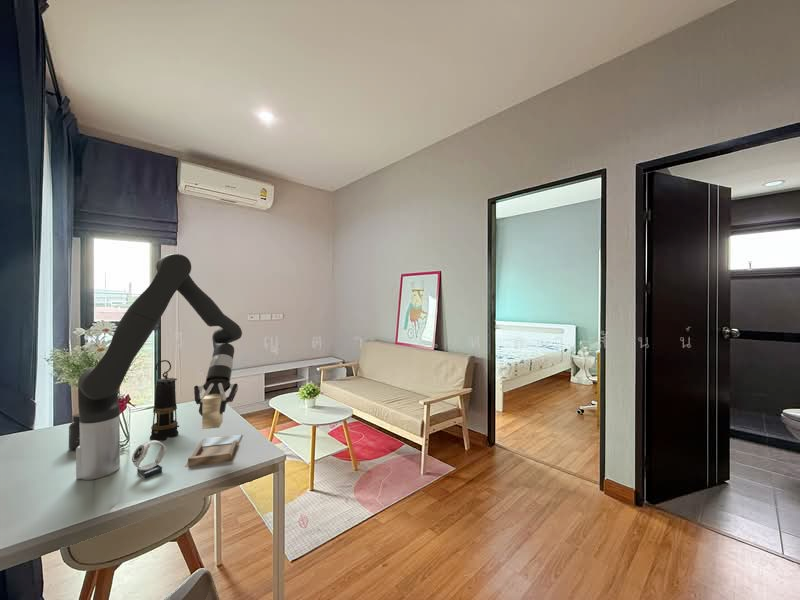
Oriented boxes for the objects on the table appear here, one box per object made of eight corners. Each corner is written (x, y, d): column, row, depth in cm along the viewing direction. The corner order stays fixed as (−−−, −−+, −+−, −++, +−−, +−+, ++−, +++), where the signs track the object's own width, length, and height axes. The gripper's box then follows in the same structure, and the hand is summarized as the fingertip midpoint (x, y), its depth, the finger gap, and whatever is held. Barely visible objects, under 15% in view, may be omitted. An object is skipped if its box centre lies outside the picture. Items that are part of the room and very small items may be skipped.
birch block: (202, 429, 106) (202, 398, 105) (206, 423, 110) (206, 394, 110) (219, 427, 107) (219, 397, 107) (222, 421, 112) (223, 393, 112)
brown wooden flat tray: (184, 471, 102) (184, 459, 102) (202, 443, 121) (202, 432, 121) (233, 465, 106) (233, 453, 106) (243, 438, 125) (243, 428, 125)
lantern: (181, 436, 127) (180, 360, 127) (152, 443, 120) (152, 364, 120) (175, 429, 133) (175, 357, 133) (147, 436, 127) (147, 360, 126)
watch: (129, 481, 97) (129, 445, 96) (160, 469, 103) (160, 435, 103) (137, 487, 94) (137, 450, 93) (168, 474, 100) (168, 439, 100)
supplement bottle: (81, 451, 114) (81, 418, 114) (62, 451, 114) (62, 417, 114) (100, 442, 121) (100, 411, 121) (82, 442, 121) (82, 410, 121)
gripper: (196, 365, 113) (184, 410, 102) (240, 363, 118) (233, 406, 106) (200, 376, 119) (189, 420, 107) (242, 374, 123) (236, 416, 112)
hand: (211, 413), depth 107 cm, fingers closed on birch block, 5 cm apart
